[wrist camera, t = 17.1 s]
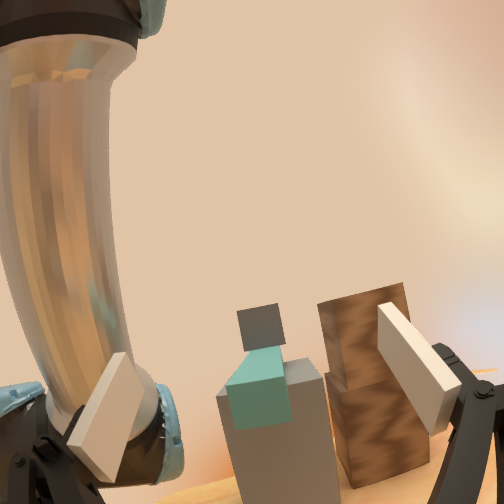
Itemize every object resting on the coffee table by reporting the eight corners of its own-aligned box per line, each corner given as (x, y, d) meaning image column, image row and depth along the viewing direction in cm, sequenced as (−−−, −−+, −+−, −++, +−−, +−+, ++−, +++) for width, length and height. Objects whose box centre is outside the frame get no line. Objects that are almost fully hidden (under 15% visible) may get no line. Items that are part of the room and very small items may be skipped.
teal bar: (223, 431, 16) (197, 306, 18) (252, 368, 40) (241, 311, 41) (305, 418, 16) (280, 290, 18) (288, 361, 40) (277, 304, 41)
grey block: (257, 548, 22) (215, 396, 26) (263, 493, 36) (235, 370, 40) (344, 534, 22) (322, 377, 26) (328, 481, 35) (307, 357, 40)
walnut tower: (353, 489, 31) (323, 301, 37) (336, 452, 45) (311, 305, 51) (429, 462, 31) (408, 280, 37) (398, 433, 44) (376, 289, 50)
